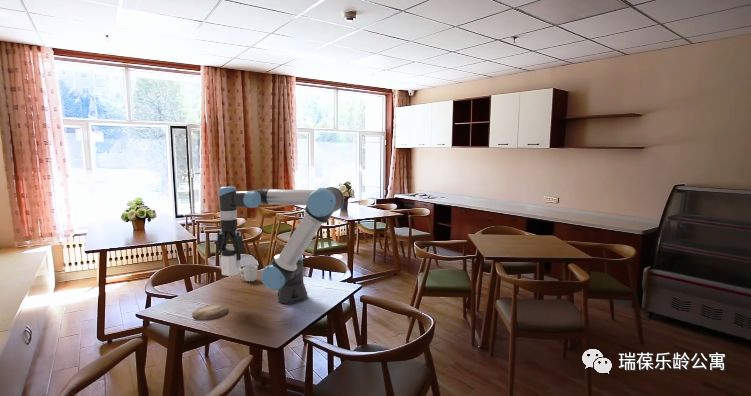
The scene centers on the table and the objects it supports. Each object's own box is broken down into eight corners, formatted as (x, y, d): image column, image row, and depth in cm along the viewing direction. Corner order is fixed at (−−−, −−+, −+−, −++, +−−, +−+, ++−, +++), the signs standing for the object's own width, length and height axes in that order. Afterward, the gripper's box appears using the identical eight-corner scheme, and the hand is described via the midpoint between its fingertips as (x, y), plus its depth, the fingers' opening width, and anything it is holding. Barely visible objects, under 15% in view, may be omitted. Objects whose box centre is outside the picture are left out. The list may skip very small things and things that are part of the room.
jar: (217, 274, 185) (216, 250, 184) (230, 270, 193) (229, 246, 192) (232, 276, 182) (231, 251, 181) (244, 272, 189) (243, 248, 188)
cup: (236, 282, 224) (236, 268, 224) (243, 278, 232) (242, 265, 231) (254, 282, 223) (253, 269, 222) (260, 278, 230) (259, 265, 230)
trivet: (234, 309, 183) (234, 306, 183) (210, 322, 169) (210, 319, 169) (210, 305, 188) (210, 303, 188) (185, 317, 175) (184, 314, 174)
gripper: (251, 219, 184) (252, 266, 186) (218, 216, 192) (220, 261, 195) (239, 221, 177) (241, 270, 179) (206, 218, 186) (208, 265, 188)
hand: (230, 265), depth 187 cm, fingers closed on jar, 8 cm apart
